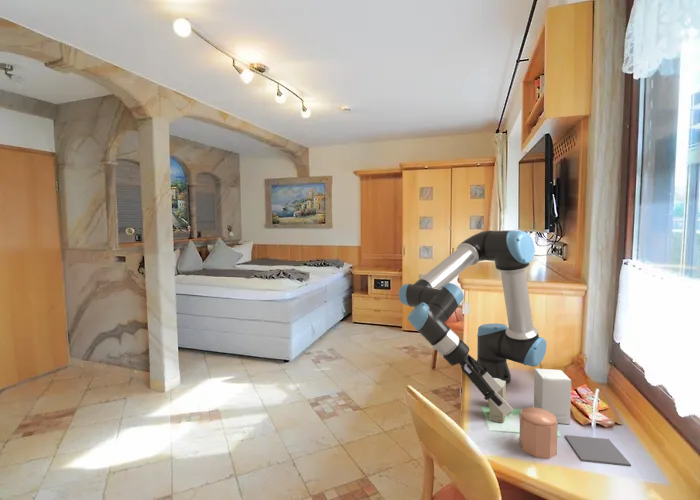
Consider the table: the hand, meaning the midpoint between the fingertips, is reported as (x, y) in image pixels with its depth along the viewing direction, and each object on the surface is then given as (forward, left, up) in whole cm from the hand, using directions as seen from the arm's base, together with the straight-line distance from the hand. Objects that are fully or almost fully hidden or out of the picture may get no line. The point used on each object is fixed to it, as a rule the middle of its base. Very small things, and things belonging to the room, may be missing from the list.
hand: (503, 400), depth 107 cm
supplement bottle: (-24, +3, -14) cm, 28 cm away
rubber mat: (-2, +26, -13) cm, 29 cm away
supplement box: (-20, +20, -14) cm, 31 cm away
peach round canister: (0, +10, -13) cm, 17 cm away
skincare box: (-16, +2, -14) cm, 21 cm away
